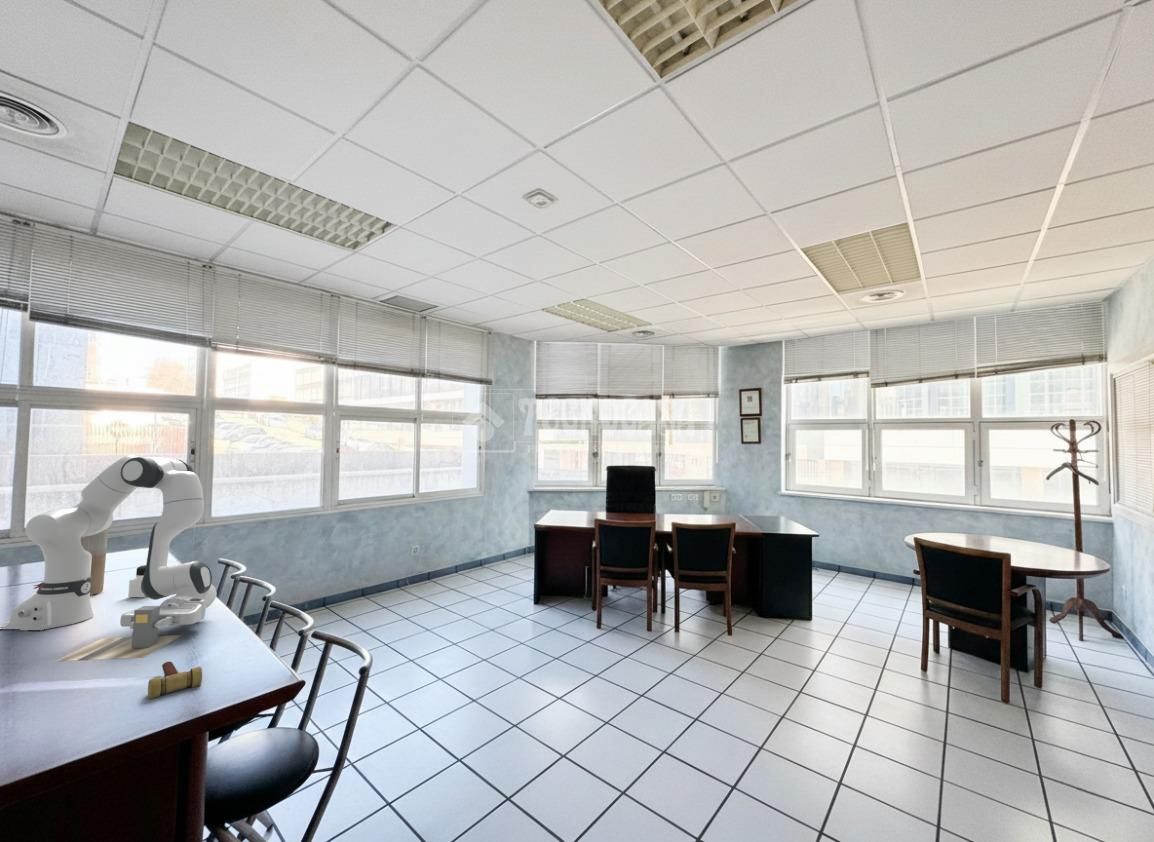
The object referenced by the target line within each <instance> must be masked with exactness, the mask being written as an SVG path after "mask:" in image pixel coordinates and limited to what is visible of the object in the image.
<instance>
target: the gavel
mask: <svg viewBox="0 0 1154 842" xmlns="http://www.w3.org/2000/svg"><path fill="white" fill-rule="evenodd" d="M161 667H162V670H163V674H164V675H163V676H164V677H161V676H158V677H154V678H153V677H152V678H150V679H149V681H148V684H147V697H148V699H149V700H151V699H156V698H159V697H161V695H163V694H169V693H172V692H177V691H179V690H184V689H187V688H188V687H190V688H194V687H198V686H200V685H201V684H202V683H203V669H202V667H201V666H197V667H193V668H190V670H188V671H181V672H178V670H177V668H176V667H175V665H174V663H173V662H172V661H165V662H164V663H162V665H161Z"/></svg>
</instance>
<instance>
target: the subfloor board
mask: <svg viewBox="0 0 1154 842" xmlns="http://www.w3.org/2000/svg"><path fill="white" fill-rule="evenodd" d="M181 636H183V635H182V634H174V635H158V640H157V643H156V644H154V645H152V646H151V647H149V648H131V647H132V636H125V637H102V638H101V639H99V640H95V641H94V642H91V643H90V644H87V645H85V646H84V647H81V648H79V649H77V650H75V651H73V652H71V653H69V654H67V655H64V656H63V657H60V658H58V659H56V660H54V661H53V662H72V661H95V660H96V661H97V660H99V661H101V660H118V659H136V658H137V659H138V658H145V657H147V656H150V654H152V653H154V652H156V651H157V650H160V649H162V647H164V646H166V645H168V644H170V643H171V642H174V641H175V640H176V639H178V638H180V637H181Z"/></svg>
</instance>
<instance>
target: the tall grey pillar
mask: <svg viewBox="0 0 1154 842" xmlns="http://www.w3.org/2000/svg"><path fill="white" fill-rule="evenodd" d="M133 610H134V622H133V629H132V635H131V637H132V647H131V648H149V647H151V646H152V645H154V644H156V643H157V640H158V636H159V628H152V626H153V622H155V621H157V620H159V614H160V605H143V606H141V607H138V608H136V610H135V609H133Z"/></svg>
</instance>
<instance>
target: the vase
mask: <svg viewBox="0 0 1154 842" xmlns="http://www.w3.org/2000/svg"><path fill="white" fill-rule="evenodd" d="M108 533H109V528H107V529H106V530H104V531H101V532H99V533H97V534H94V535H91V536H86V537H81V544H82V547H83V548H84V550H86V551H88V552H90V553H91V555H92V562H91V574H90V576H92V584H91V589H90V595H92V596H94V595H93V594H96V595H98V594H97V593H99V594H101V593H100V592H102V591H103V592H104V584H105V573H106V560H107V547H108ZM103 592H102V593H103Z"/></svg>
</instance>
